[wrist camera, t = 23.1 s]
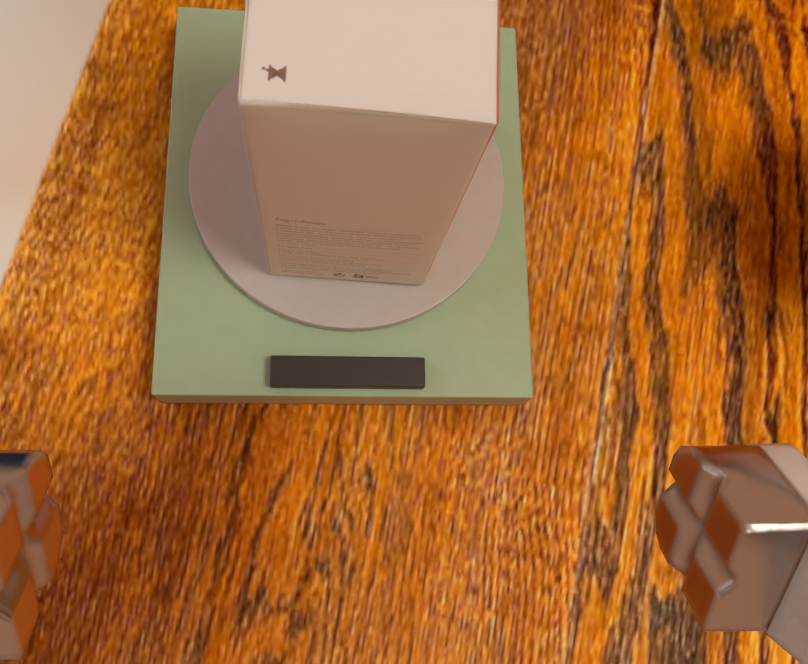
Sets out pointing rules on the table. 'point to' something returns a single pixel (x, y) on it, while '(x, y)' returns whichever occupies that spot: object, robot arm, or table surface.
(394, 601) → the table surface
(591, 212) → the table surface
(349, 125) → the small box
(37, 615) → the robot arm
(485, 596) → the table surface
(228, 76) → the scale
